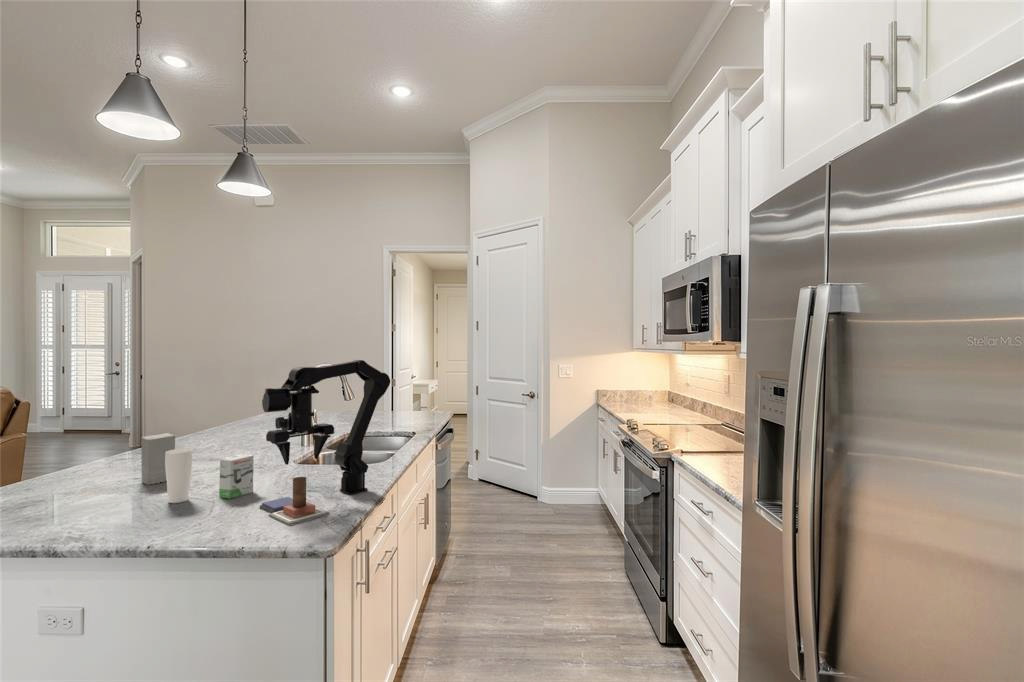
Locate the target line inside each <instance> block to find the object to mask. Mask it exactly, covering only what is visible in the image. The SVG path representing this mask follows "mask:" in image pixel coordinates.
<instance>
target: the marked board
mask: <svg viewBox="0 0 1024 682" xmlns="http://www.w3.org/2000/svg"><path fill="white" fill-rule="evenodd" d="M329 514H330V512H329V511H327V510H324V509H322V508H319V507H317V506H315V513H312V514H309V515H305V516H301V517H297V518H292V517H290V516H288V515H286V514H283V511H279V512H275V513H268V517H269V516H270V517H269V518H271V519H274V520H276V521H278V522H280V523H282V524H284V523H285V524H284V525H286V524H287V526H288V525H290V526H293V524H294V525H297V524H301V523H304V522H307V521H312V520H315V519H318V518H322V516H323V517H326V516H330V515H329ZM325 515H326V516H325ZM296 523H297V524H296Z"/></svg>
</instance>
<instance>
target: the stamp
mask: <svg viewBox="0 0 1024 682" xmlns="http://www.w3.org/2000/svg"><path fill="white" fill-rule="evenodd" d="M292 499H293V504H290V505H286V506H283V514H286V515H288V516H290V517H292V518H297V517H301V516H305V515H309V514H312V513H315V507H316V504H312V503H310V502H308V501H307V477H305V476H297V477H293V478H292Z"/></svg>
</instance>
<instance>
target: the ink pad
mask: <svg viewBox="0 0 1024 682" xmlns="http://www.w3.org/2000/svg"><path fill="white" fill-rule="evenodd" d="M290 504H293V497H290V496H286V497H285V496H284V497H282V498H276V499H273V500H268V501H263V502H261V504H260V505H259V509H261V510H263V511H265V512H268V513H269V512H270V513H269V514H271V513H275V512H279V511H283V506H286V505H290Z"/></svg>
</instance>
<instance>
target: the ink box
mask: <svg viewBox="0 0 1024 682" xmlns="http://www.w3.org/2000/svg"><path fill="white" fill-rule="evenodd" d="M254 457H255V456H254V455H250V454H245V453H243V454H241V453H240V454H238V455H236V454H235V455H231V456H226V457H221V458H220V460H219V482H218V483H219V484H218V485H219V491H218V493H219V494H218V497H219V498H222V499H223V498H224V499H229V500H230V499H231V498H232V499H235V498H238V497H240V496H241V497H242V496H244V494H245V495H248V494H251V493H253V492H254ZM234 497H235V498H234Z"/></svg>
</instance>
